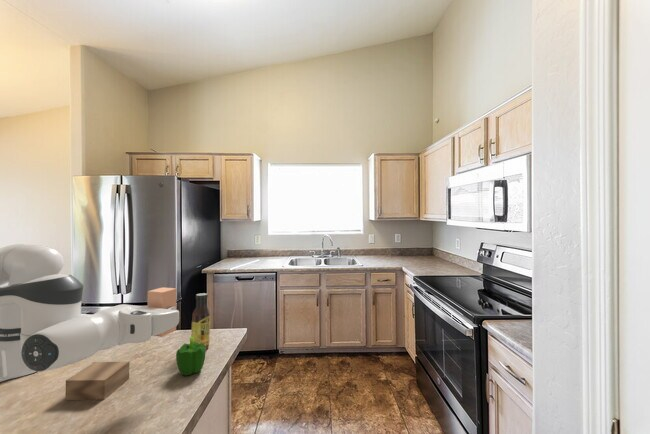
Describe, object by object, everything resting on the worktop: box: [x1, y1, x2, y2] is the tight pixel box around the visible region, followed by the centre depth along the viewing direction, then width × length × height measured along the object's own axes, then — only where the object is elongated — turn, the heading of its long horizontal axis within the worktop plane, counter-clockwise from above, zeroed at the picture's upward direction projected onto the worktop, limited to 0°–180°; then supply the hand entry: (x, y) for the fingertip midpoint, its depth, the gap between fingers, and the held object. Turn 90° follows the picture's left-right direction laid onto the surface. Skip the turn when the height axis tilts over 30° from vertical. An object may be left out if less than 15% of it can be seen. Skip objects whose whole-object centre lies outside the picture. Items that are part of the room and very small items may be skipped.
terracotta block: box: [147, 287, 178, 338], centre depth 81 cm, size 5×5×12 cm
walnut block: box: [64, 361, 130, 401], centre depth 80 cm, size 10×10×5 cm
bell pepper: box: [175, 336, 207, 376], centre depth 90 cm, size 8×8×10 cm
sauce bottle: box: [190, 292, 211, 350], centre depth 106 cm, size 7×6×20 cm
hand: (164, 308), depth 82 cm, fingers closed on terracotta block, 5 cm apart
